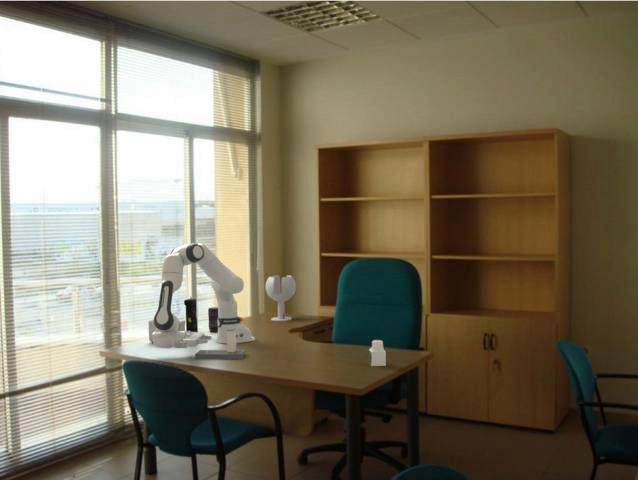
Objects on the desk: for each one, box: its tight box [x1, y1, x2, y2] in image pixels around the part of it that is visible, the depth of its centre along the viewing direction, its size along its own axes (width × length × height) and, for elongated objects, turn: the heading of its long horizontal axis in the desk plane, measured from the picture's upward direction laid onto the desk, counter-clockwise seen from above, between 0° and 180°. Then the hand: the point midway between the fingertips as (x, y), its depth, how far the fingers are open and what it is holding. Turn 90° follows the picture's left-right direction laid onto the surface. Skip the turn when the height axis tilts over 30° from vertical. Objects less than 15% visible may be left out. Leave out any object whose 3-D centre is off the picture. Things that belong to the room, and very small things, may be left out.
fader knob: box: [226, 328, 237, 352], centre depth 353 cm, size 4×5×12 cm
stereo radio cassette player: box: [148, 309, 186, 343], centre depth 393 cm, size 21×8×20 cm, turn 68°
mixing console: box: [194, 349, 246, 360], centre depth 353 cm, size 24×11×3 cm, turn 86°
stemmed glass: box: [265, 274, 297, 322], centre depth 470 cm, size 20×20×30 cm
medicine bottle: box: [368, 338, 387, 367], centre depth 330 cm, size 7×7×12 cm
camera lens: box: [207, 306, 218, 333], centre depth 427 cm, size 8×8×15 cm
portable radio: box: [183, 297, 199, 332], centre depth 410 cm, size 8×6×25 cm
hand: (209, 339), depth 353 cm, fingers open, 8 cm apart
